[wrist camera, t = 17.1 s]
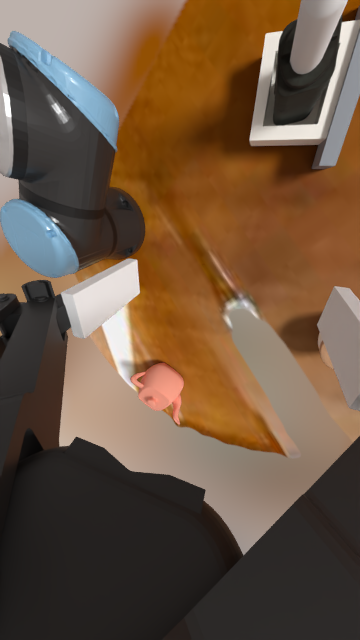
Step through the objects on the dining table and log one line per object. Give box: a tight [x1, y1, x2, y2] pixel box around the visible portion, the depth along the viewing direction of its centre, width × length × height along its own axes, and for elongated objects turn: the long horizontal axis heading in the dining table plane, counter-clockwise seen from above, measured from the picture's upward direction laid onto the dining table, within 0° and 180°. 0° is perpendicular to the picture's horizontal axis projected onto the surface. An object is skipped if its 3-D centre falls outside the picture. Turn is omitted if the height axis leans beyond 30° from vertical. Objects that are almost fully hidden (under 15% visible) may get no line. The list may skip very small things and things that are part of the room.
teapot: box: [131, 362, 184, 425], centre depth 66 cm, size 13×20×12 cm, turn 54°
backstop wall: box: [311, 6, 360, 169], centre depth 27 cm, size 2×16×6 cm, turn 178°
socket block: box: [249, 20, 360, 146], centre depth 29 cm, size 10×10×5 cm
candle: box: [273, 0, 348, 126], centre depth 20 cm, size 5×5×25 cm
